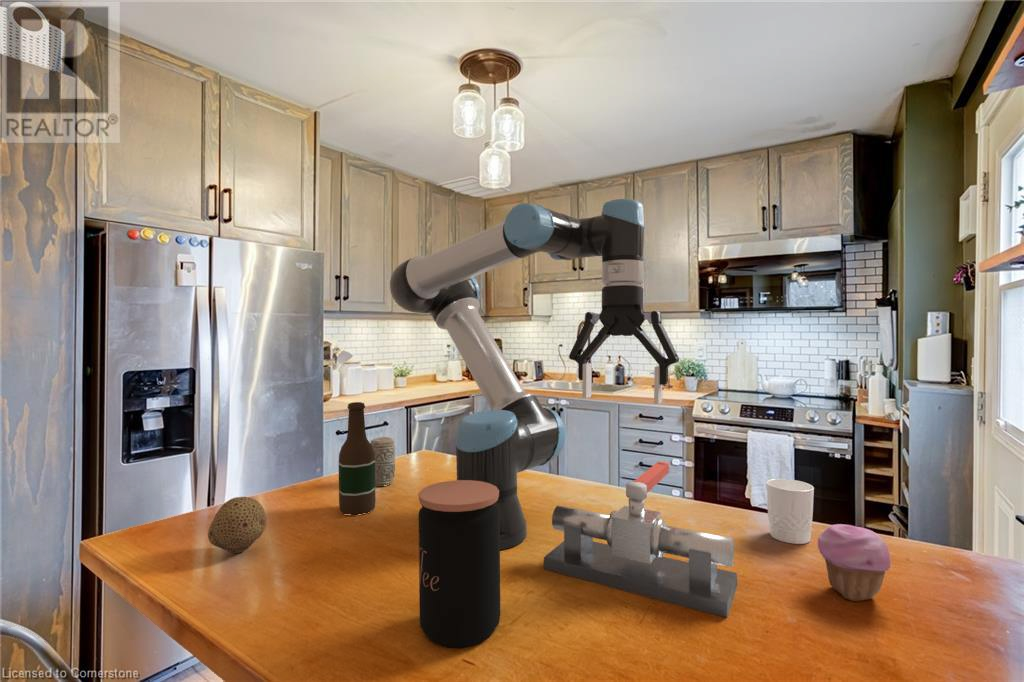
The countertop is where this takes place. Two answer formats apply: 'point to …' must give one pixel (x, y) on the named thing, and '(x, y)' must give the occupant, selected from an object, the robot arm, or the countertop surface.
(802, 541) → the white cup
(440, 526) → the coffee jar
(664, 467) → the valve lever
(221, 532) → the natural sponge
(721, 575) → the valve stand
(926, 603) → the countertop surface
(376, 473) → the carving
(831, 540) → the cupcake
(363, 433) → the beer bottle
